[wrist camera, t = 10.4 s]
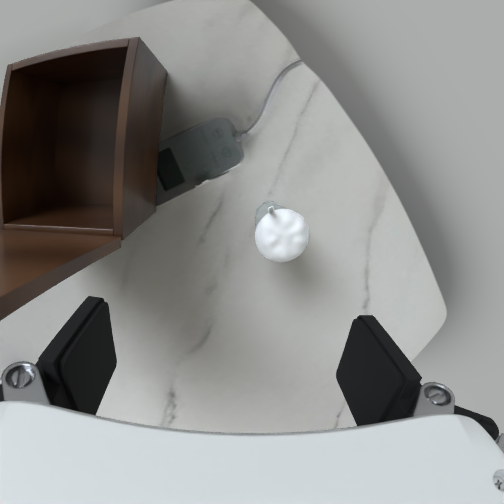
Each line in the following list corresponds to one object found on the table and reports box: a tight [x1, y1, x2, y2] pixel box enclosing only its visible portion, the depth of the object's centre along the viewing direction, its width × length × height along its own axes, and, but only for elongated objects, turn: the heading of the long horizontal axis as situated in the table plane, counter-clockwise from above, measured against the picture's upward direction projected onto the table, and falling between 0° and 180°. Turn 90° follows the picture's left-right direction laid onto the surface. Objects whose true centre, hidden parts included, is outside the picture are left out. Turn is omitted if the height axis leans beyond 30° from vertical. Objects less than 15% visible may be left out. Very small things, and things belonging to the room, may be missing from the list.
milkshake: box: [255, 201, 310, 262], centre depth 27 cm, size 4×5×10 cm
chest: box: [0, 37, 167, 240], centre depth 23 cm, size 16×14×11 cm
